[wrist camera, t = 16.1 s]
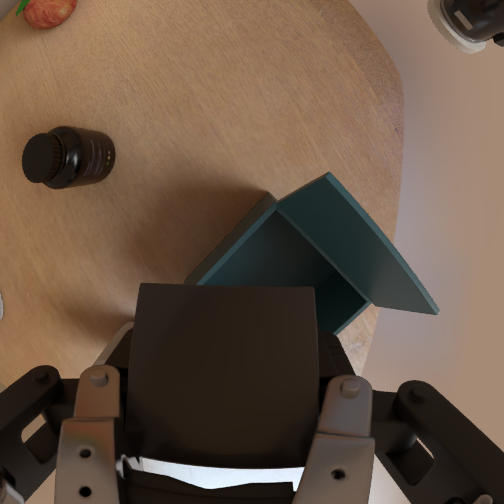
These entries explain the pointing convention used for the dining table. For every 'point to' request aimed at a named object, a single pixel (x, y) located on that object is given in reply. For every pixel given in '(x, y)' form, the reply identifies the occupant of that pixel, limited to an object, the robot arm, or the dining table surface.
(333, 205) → the flap
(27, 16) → the fruit
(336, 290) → the carton
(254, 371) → the block
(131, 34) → the dining table surface
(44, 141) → the supplement bottle
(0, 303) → the chalice
